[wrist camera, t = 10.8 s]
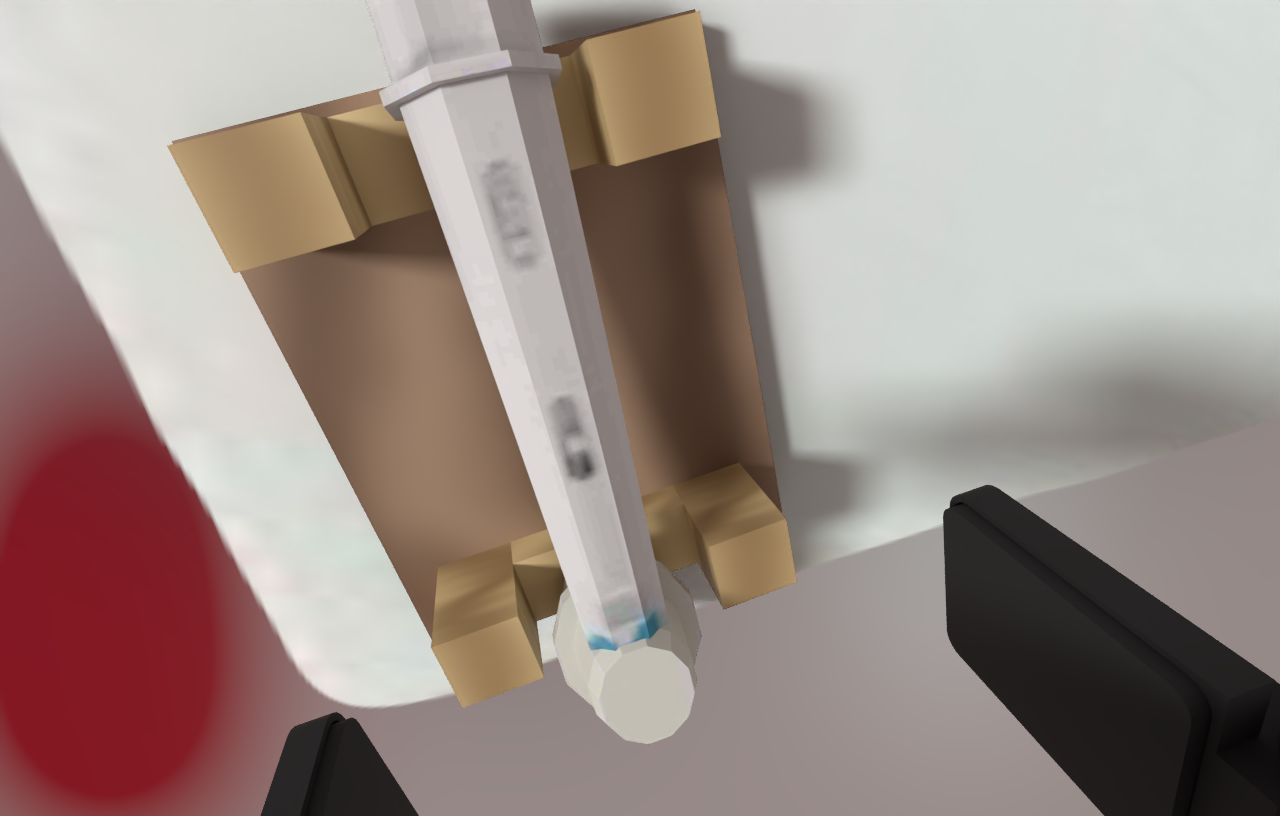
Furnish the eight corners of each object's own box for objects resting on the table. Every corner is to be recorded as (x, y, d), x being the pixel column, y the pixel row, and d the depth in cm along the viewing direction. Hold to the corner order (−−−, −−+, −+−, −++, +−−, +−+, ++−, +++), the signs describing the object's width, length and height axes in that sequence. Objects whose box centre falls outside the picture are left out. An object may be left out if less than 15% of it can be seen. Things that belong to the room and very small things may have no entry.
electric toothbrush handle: (542, -141, 13) (752, 767, 21) (529, -17, 20) (693, 644, 27) (286, -98, 13) (598, 826, 20) (357, 16, 19) (574, 685, 26)
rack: (680, 17, 21) (751, -26, 16) (768, 500, 30) (834, 578, 24) (192, 141, 19) (84, 139, 14) (435, 619, 28) (426, 732, 22)
